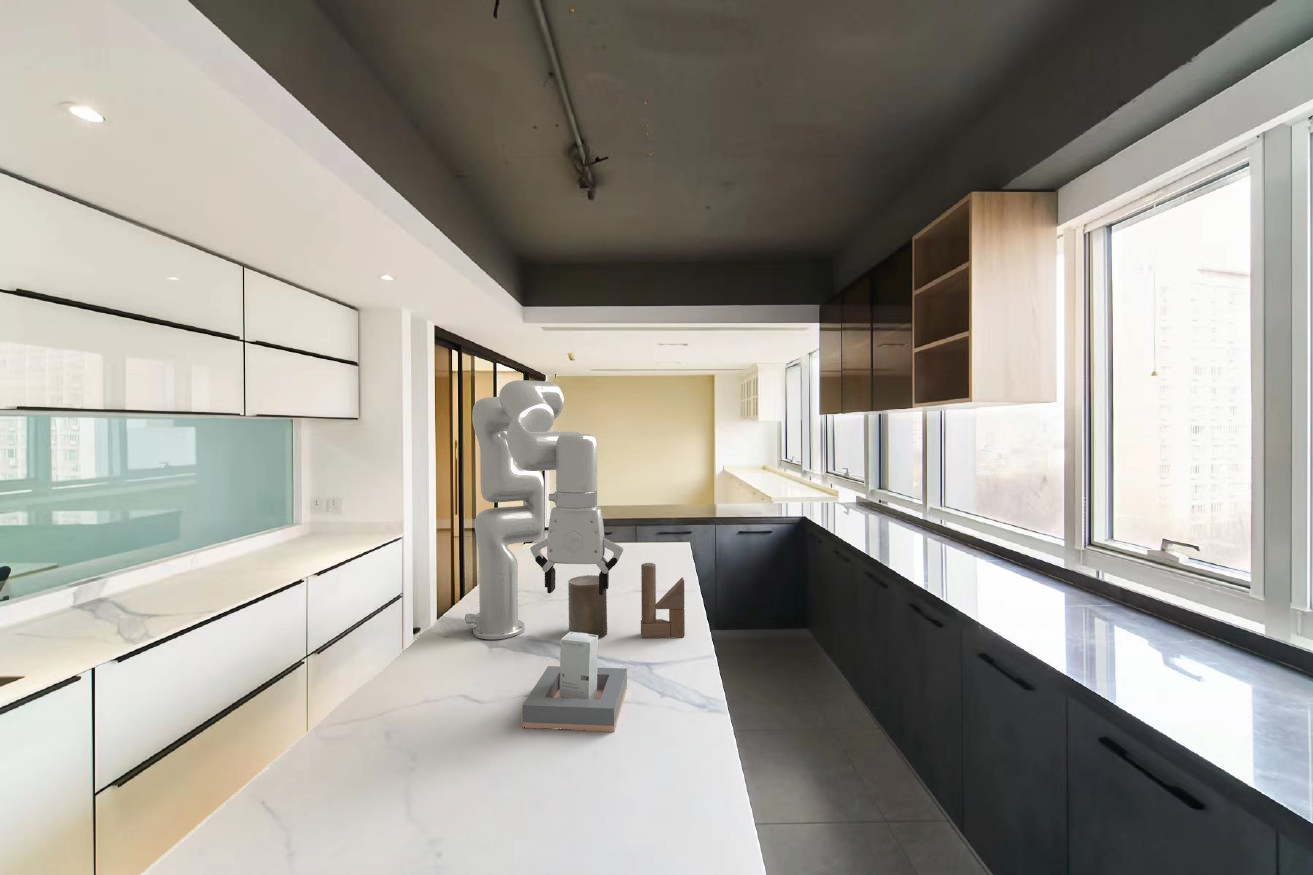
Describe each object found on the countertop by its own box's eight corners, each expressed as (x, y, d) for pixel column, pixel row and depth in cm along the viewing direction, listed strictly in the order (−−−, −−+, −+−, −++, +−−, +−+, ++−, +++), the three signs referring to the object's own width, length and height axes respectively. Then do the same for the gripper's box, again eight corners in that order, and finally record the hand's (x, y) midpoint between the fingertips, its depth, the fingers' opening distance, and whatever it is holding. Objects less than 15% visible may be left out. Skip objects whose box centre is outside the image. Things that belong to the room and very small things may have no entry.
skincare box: (558, 704, 103) (558, 639, 103) (569, 693, 107) (568, 630, 107) (589, 709, 101) (589, 642, 101) (599, 697, 106) (598, 633, 105)
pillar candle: (614, 635, 140) (613, 575, 140) (579, 643, 135) (578, 581, 135) (595, 624, 148) (595, 568, 148) (561, 632, 143) (561, 573, 143)
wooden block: (684, 637, 139) (684, 565, 138) (641, 638, 138) (640, 566, 138) (683, 632, 142) (682, 561, 142) (640, 633, 142) (640, 562, 141)
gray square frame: (522, 727, 97) (522, 704, 97) (548, 685, 113) (548, 665, 113) (614, 731, 96) (614, 708, 96) (627, 688, 112) (626, 668, 112)
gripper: (524, 502, 101) (524, 596, 101) (620, 504, 99) (619, 600, 100) (537, 496, 108) (537, 584, 109) (626, 498, 107) (625, 587, 107)
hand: (576, 592), depth 104 cm, fingers open, 9 cm apart
